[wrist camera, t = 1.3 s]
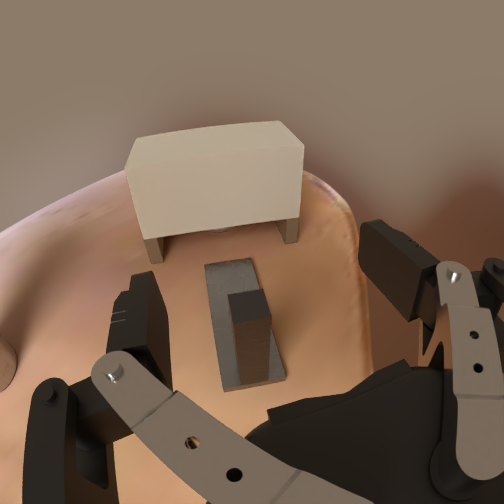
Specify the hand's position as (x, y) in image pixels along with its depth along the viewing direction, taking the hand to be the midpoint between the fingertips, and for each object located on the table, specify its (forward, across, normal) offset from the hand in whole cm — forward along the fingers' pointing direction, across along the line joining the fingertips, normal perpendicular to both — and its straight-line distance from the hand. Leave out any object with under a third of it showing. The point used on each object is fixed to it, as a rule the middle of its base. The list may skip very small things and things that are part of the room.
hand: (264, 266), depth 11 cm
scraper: (+20, 0, +21) cm, 29 cm away
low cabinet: (+39, -1, +18) cm, 43 cm away
